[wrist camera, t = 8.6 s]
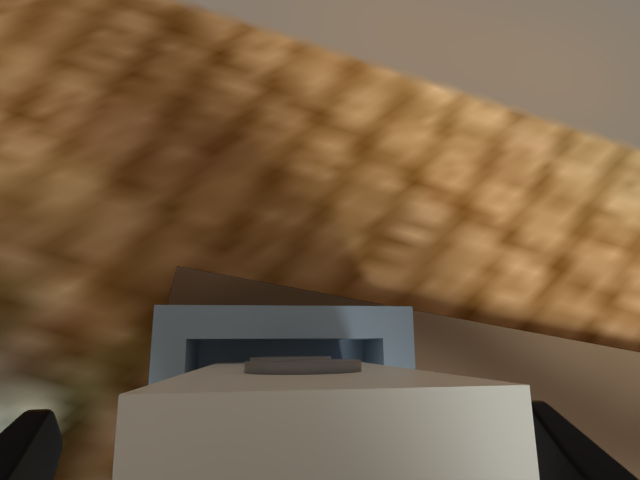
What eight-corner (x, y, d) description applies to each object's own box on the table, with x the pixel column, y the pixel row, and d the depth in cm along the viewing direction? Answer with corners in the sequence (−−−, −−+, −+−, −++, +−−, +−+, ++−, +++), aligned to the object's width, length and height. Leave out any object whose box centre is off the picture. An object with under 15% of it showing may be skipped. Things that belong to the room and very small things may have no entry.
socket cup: (392, 541, 17) (426, 591, 13) (160, 553, 16) (131, 611, 12) (384, 314, 19) (412, 306, 15) (175, 313, 18) (154, 304, 14)
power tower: (346, 489, 16) (584, 890, 4) (217, 496, 16) (72, 973, 4) (342, 354, 17) (527, 365, 5) (222, 355, 17) (120, 373, 5)
